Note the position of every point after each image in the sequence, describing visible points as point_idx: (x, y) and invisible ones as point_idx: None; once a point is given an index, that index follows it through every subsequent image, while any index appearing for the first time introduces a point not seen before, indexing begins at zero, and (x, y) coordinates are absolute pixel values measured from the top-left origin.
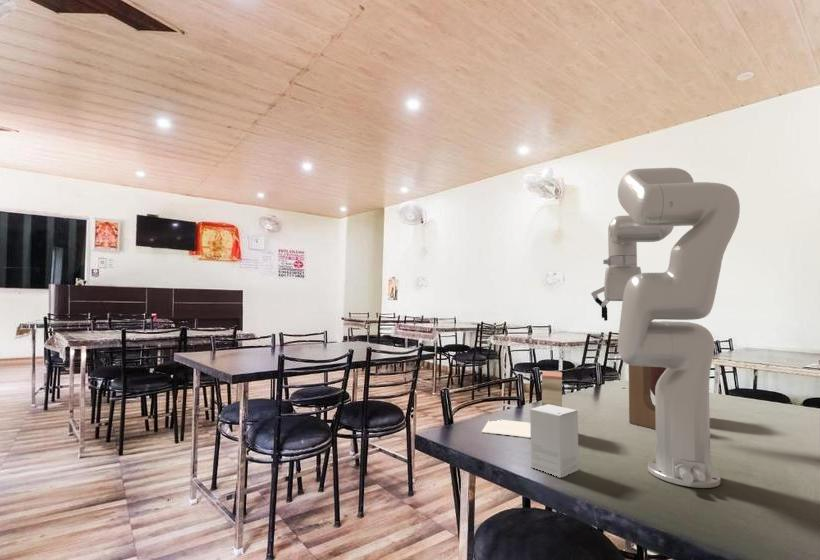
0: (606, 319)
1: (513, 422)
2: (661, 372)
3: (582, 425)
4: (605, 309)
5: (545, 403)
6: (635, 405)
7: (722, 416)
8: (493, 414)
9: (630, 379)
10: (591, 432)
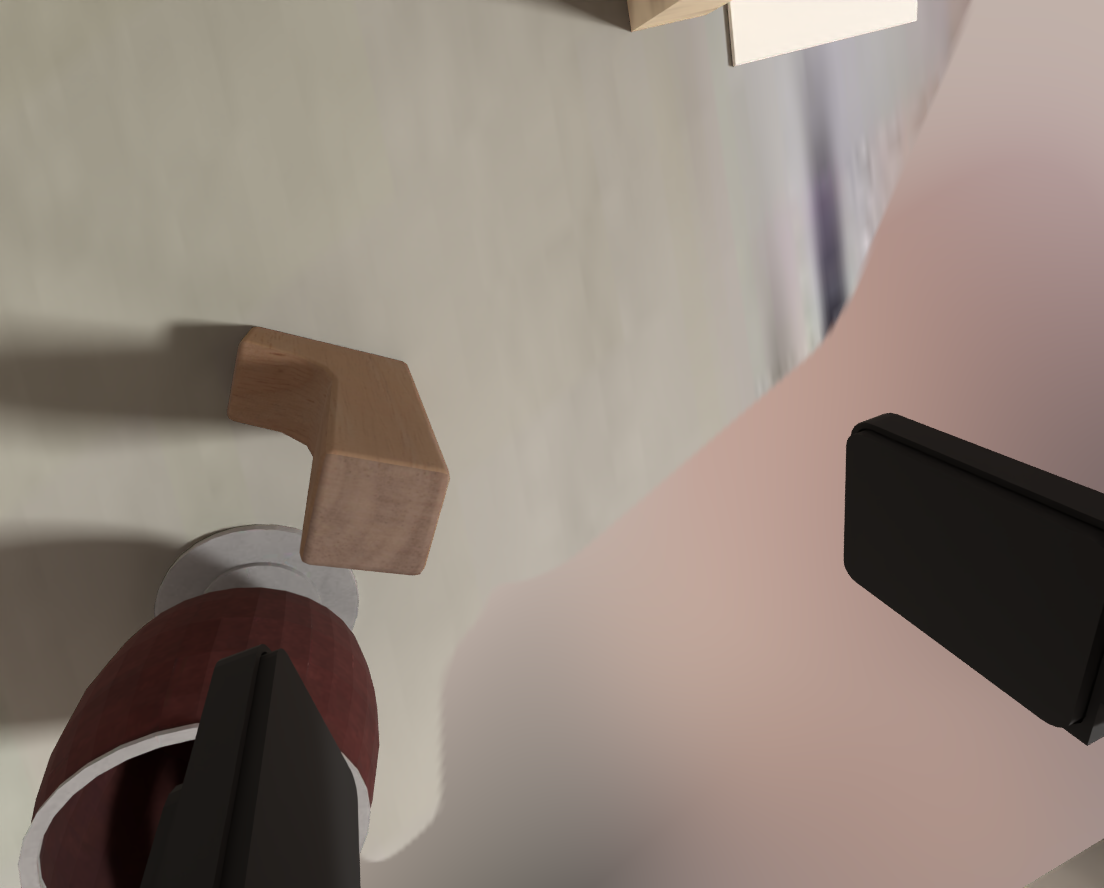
0: (871, 421)
1: (826, 11)
2: None
3: (571, 185)
4: (1092, 501)
5: None
6: (380, 375)
7: None
8: (908, 126)
9: (420, 423)
10: (514, 78)
